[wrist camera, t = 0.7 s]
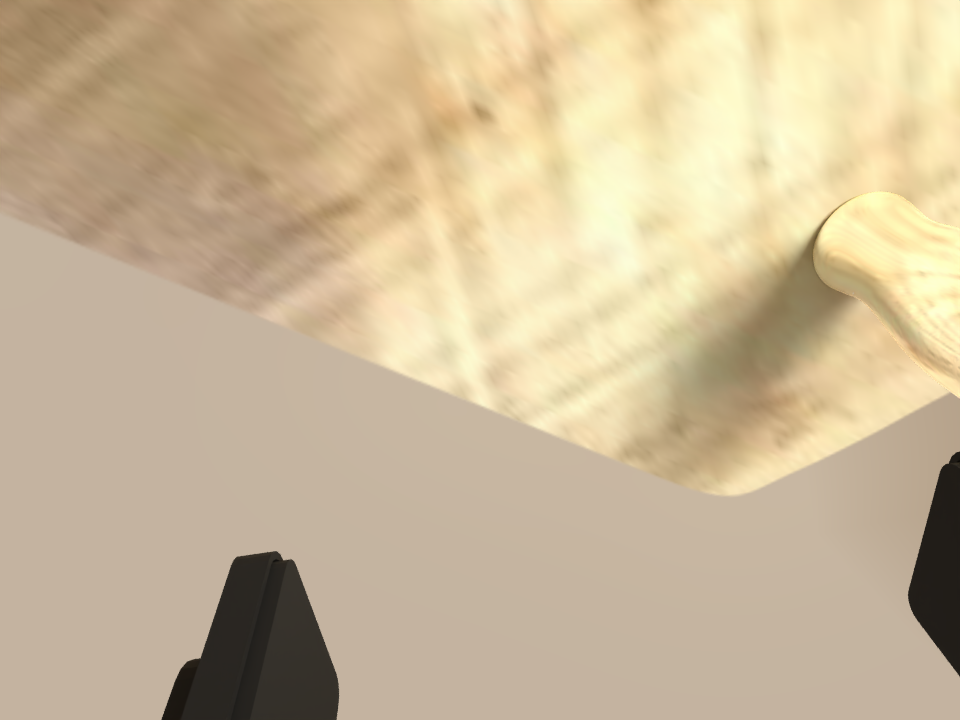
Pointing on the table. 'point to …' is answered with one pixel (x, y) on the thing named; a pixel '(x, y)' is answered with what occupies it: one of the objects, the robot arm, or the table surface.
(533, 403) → the table surface
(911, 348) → the beer glass
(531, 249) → the table surface
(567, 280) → the table surface
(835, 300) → the table surface
